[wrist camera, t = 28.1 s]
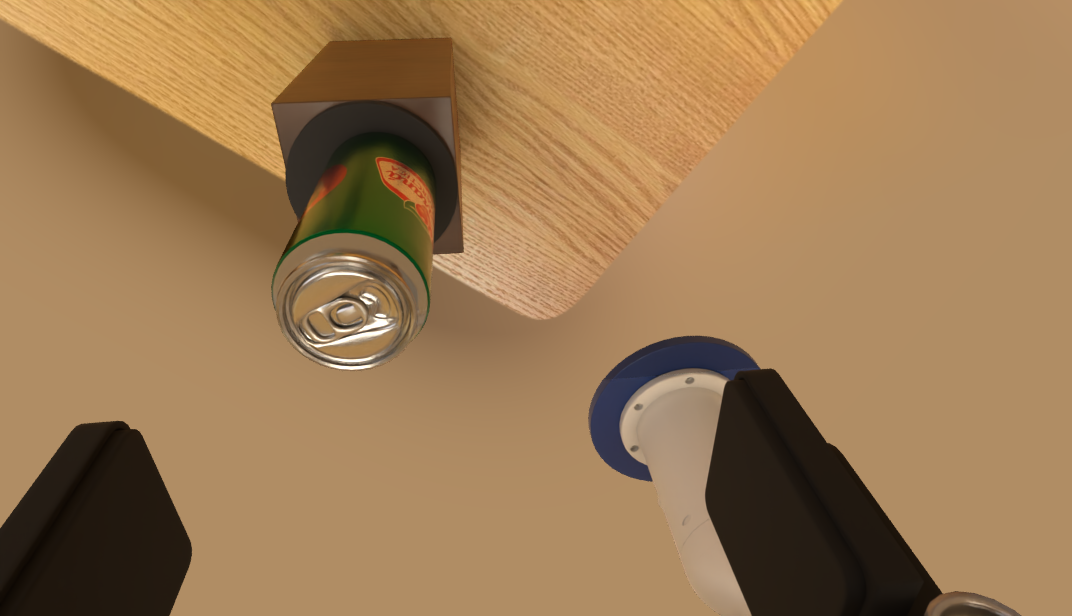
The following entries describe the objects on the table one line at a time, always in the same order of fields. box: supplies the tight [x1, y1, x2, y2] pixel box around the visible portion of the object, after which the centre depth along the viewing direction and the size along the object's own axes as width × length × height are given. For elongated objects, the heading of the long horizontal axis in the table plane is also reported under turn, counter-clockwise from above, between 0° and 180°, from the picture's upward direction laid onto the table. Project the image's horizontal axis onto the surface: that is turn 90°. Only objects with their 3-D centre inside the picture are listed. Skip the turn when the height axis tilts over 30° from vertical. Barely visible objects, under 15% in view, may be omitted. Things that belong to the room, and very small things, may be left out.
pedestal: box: [271, 38, 464, 254], centre depth 38 cm, size 8×8×16 cm
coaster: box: [286, 100, 458, 243], centre depth 31 cm, size 8×8×1 cm
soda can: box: [271, 132, 437, 371], centre depth 25 cm, size 5×5×12 cm
